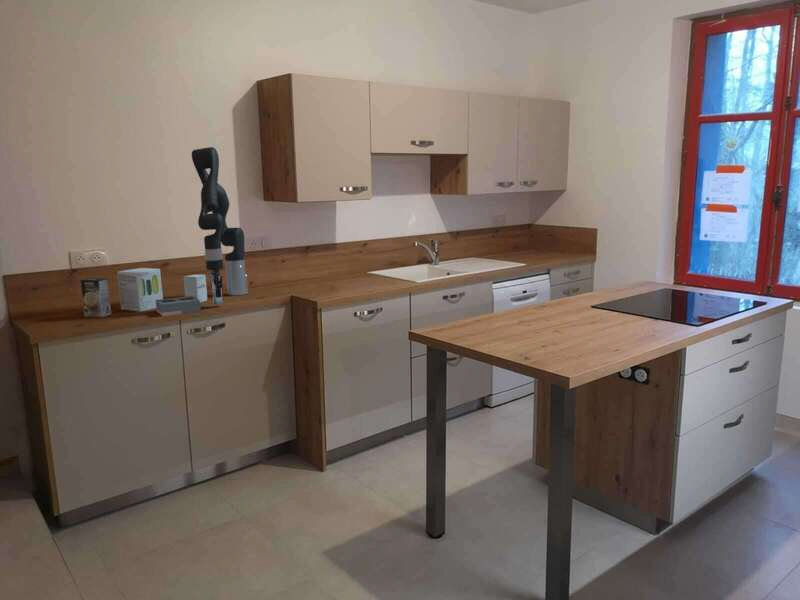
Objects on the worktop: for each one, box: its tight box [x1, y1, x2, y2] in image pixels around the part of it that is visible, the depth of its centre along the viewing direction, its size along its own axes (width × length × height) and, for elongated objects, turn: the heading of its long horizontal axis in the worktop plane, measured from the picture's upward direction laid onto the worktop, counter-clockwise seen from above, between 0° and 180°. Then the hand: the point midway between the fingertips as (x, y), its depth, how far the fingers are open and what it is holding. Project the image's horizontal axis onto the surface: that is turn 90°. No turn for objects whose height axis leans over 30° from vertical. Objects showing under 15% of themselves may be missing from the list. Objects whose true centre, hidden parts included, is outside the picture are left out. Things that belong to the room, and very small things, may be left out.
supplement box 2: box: [183, 274, 208, 303], centre depth 299 cm, size 7×7×13 cm
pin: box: [211, 282, 223, 305], centre depth 285 cm, size 4×4×10 cm
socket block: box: [155, 296, 202, 317], centre depth 277 cm, size 16×14×5 cm
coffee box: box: [80, 277, 112, 318], centre depth 272 cm, size 9×6×16 cm
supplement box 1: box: [117, 267, 164, 312], centre depth 287 cm, size 13×13×18 cm
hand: (217, 296), depth 285 cm, fingers closed on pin, 4 cm apart
